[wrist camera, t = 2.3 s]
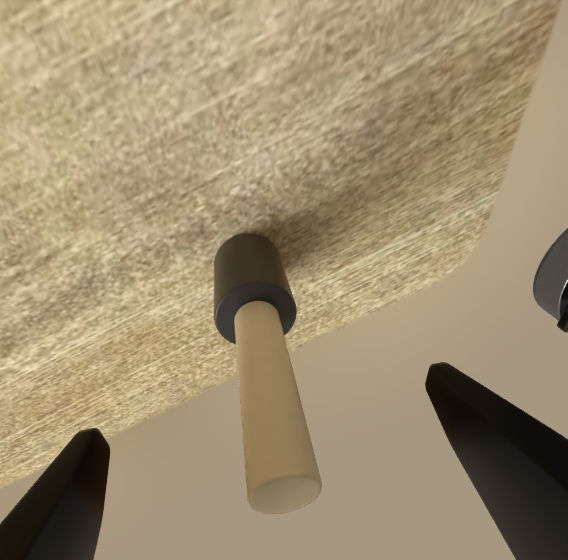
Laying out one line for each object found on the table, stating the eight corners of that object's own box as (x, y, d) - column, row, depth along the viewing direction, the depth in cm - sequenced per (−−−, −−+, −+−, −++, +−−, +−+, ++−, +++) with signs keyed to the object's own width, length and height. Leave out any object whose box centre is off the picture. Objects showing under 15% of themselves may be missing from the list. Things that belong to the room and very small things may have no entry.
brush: (276, 228, 14) (359, 443, 6) (281, 284, 16) (351, 512, 8) (208, 238, 14) (199, 478, 6) (220, 294, 16) (226, 541, 8)
